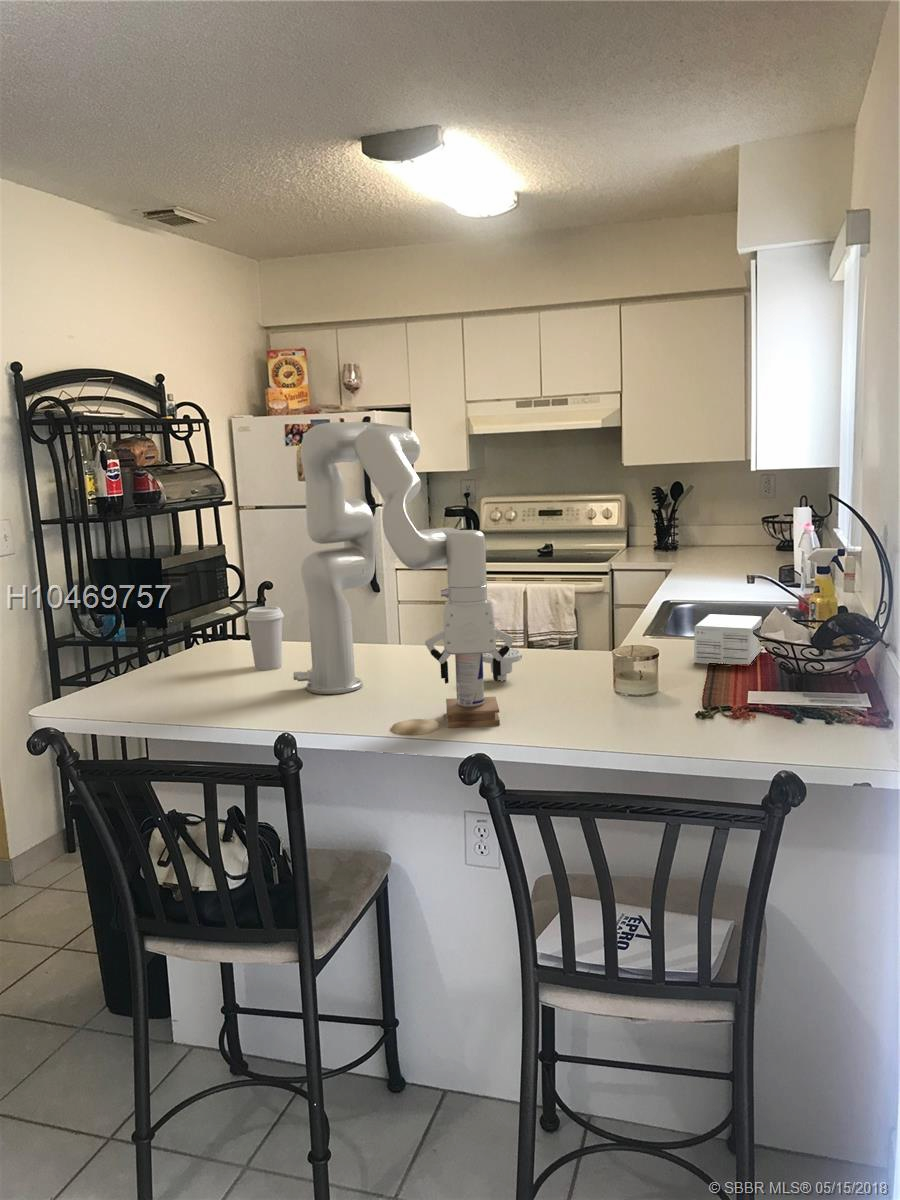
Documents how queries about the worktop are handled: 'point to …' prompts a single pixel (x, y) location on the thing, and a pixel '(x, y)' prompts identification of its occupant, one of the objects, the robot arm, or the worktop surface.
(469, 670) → the energy drink
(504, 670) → the showerhead
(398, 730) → the cork coaster
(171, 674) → the worktop surface
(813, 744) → the worktop surface
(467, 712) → the walnut stand
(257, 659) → the coffee cup
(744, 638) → the supplement box
